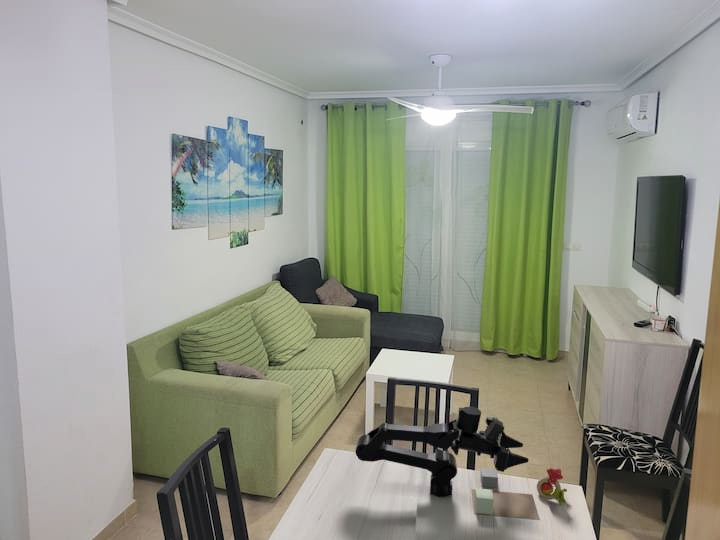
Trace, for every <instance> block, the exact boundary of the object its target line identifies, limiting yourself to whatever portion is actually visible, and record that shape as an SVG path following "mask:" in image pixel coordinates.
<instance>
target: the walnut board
mask: <svg viewBox="0 0 720 540" xmlns="http://www.w3.org/2000/svg"><path fill="white" fill-rule="evenodd" d="M492 492H493V498H494V505H493V515H492V514H481V513H476V511H475V489H474V488H473V489H471V497H472V498H471V499H472V507H473V514H474V515H482V516H489V517H491V516H492V517H502V518H503V517H504V518H511V519H512V518H514V519H524V520H534V521H535V520H536V521H541V518H540V515H539V512H538V508H537V505H536V502H535V499H534V495H533V494H531V493H521V492H509V491H497V490H496V491H495V490H492Z"/></svg>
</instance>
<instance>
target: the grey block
mask: <svg viewBox="0 0 720 540" xmlns="http://www.w3.org/2000/svg"><path fill="white" fill-rule="evenodd" d="M480 484H481V486H482V487H490V488H498V486H499V485H498V484H499V475H498V471H497V470H496V468H495V469H494V468H484V467H483V468H482V467H481V468H480Z"/></svg>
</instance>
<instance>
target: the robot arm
mask: <svg viewBox="0 0 720 540" xmlns="http://www.w3.org/2000/svg"><path fill="white" fill-rule="evenodd" d="M481 417H482V411H481V410H480V409H479V408H477V407H475V406H464V407H459V408H458V415H457V419H454V420H452V421H448V422H447V423H443V422H442V423H433V424H430V425H427V426H420V425H419V426H418V425H404V424H392V423H390V424H389V423H388V422H387V423H386V422H382V423H381V424H380V425H379V426H378V427H376V428H374V429H372V430H370V431H369V432H368V433H367V434H363V435H362V436H361V435H360V437H359V438H358V440H357V443H356V447H355V455H356V457H357V458H358V460H359V461H362V462H373V463H374V462H377V461H386V462H387V461H388V462H392V463H396V464H401V465H405V466H409V467H413V468H418V469H424V470H426V471H428V472H430V473H431V474H430V478H429V479H430V481H429V482H430V483H429V484H430V485H429V494H430V495H433V496H435V497H437V498H445V497H450V496H453V481H452V479H454V478H455V477H456V476H457V474H458V466H457V459H456V457H455V456H458V455H459V450H464V451H468V452H474V453H476V456H477V457H478V456H480V457H481V455H482V454H483V455H487V456H489V457H490V459H493V466H494V468H495V469H496V470H497V472H501V473H505V471H506V470H507V469H510V468H512V467H516V466H519V465H522V464H526V463H528V462H529V460H530V459H529V458H528V457H525V456H522V455H520V454H517V453H513V452H512V451H511V450H510V449H517V448H523V446H524V444H523V442H520V441H519V440H517V439H515V438H513V437H511V436H509V435H508V434H506V432H505V426H504V422H502V421H500V420H499V419H498V417H497V416H496V417H494V416H493V417H491V416H487V417H486V419H485V424H486V426H485V427H486V428H485V429H484V430H480V431H478V430H479V425H480V421H481ZM477 431H478V432H477ZM387 441H403V442H412V443H413V442H415V443H424V444H428V445H429V446H431V447H433V448H434V447H435V452H433V453H426V452H422V451H417V450H413V449H408V448H404V447H400V446H395V445H391V444H387V443H386V442H387ZM449 448H450V449H451V450H452V452H453V453H454V454H452V453H450V452H449ZM454 455H455V456H454Z"/></svg>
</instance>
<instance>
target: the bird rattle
mask: <svg viewBox="0 0 720 540" xmlns="http://www.w3.org/2000/svg"><path fill="white" fill-rule="evenodd" d="M546 472H547V474H548V475H547V476H543V477H541V478H539V480H538V481H537V483H536V490H537V493H538V495H539V496H541V497H544V498H546V500H548V501H549V500H556V499H557V503H558V504H560V505H563V504H566V503H567V501H566V499H565V493H567V492H568V489H567V488H563V489H562V487H561V483H560V482H559V481H558V480H563V479H564V476H563V475H562V470H561V468H557V469H555V468H551V467H550V468H547V469H546ZM554 487H555V488H554ZM564 492H565V493H564Z"/></svg>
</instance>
